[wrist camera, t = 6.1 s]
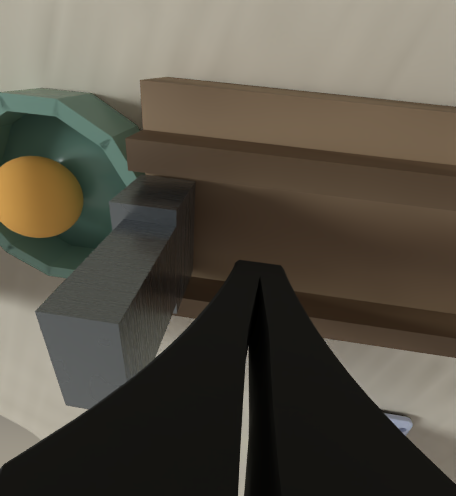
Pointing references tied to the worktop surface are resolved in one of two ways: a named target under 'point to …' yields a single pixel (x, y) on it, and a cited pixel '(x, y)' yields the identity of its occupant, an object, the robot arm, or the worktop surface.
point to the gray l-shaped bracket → (122, 291)
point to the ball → (38, 197)
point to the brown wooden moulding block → (316, 201)
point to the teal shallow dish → (74, 159)
